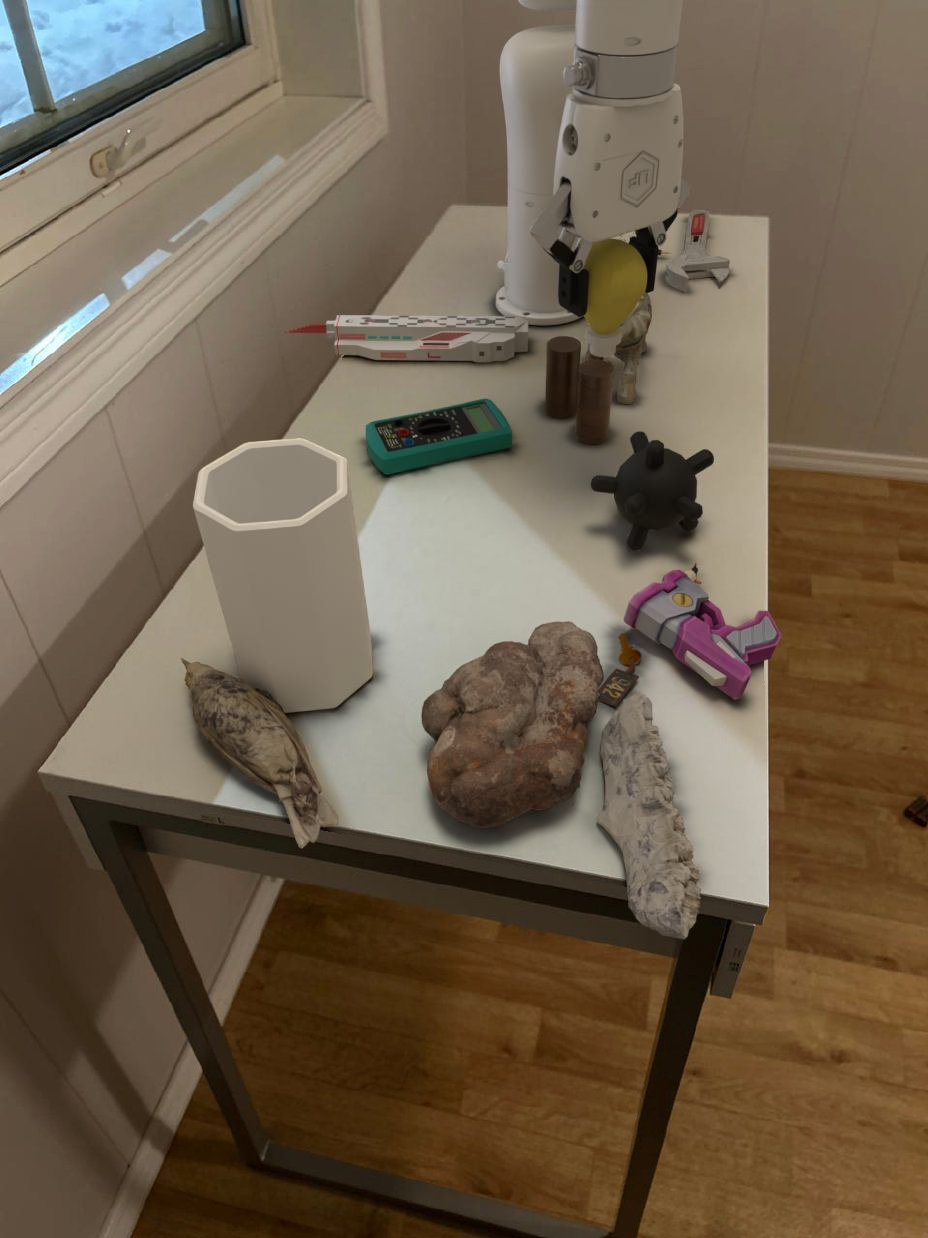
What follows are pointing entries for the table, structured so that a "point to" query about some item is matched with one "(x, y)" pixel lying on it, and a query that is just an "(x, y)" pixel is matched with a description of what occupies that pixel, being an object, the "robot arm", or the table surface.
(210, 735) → the bird model
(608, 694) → the key tag
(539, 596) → the table surface
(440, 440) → the digital multimeter
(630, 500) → the toy ball
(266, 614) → the cup
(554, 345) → the peg far
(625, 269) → the yellow light bulb
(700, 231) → the adjustable wrench
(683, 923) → the fossil
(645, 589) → the toy gun
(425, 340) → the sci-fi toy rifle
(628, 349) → the figurine
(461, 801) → the rock
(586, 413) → the peg mid
